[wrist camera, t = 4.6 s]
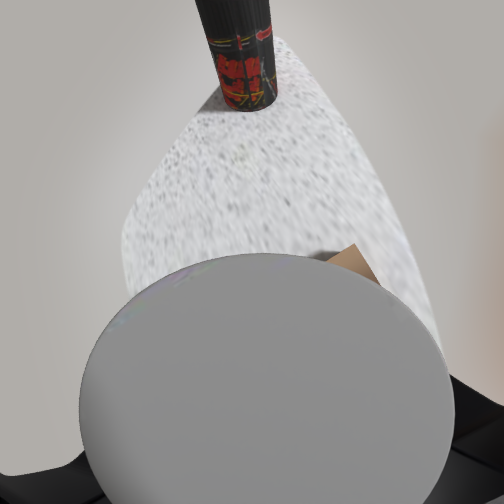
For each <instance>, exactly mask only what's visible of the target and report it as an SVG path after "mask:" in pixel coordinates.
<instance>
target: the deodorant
mask: <svg viewBox="0 0 504 504" xmlns="http://www.w3.org/2000/svg"><path fill="white" fill-rule="evenodd" d="M195 2H196V5H197V8H198V12H199V15H200V18H201V21H202V25H203V28H204V31H205V34H206V38H207V41H208V44H209V48H210V51H211V54H212V58H213V61H214V64H215V68H216V71H217V75H218V78H219V81H220V85H221V88H222V92H223V95H224V98H225V101H226V103H227V105H228V106H230V107H231V108H232V109H235V110H237V111H243V112H253V111H258V110H261V109H264V108H266V107H268V106H269V105H271V104H272V103H273V102H274V101H275V99H276V97H277V92H278V91H277V78H276V67H275V55H274V45H273V35H272V25H271V17H270V16H271V15H270V6H269V0H195Z"/></svg>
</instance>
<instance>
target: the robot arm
mask: <svg viewBox="0 0 504 504" xmlns="http://www.w3.org/2000/svg"><path fill="white" fill-rule="evenodd" d="M449 375H450V374H449ZM450 379H451V383H452V387H453V394H454V405H455V419H454V431H453V437H452V442H451V446H450V451H449V454H448V457H447V460H446V463H445V466H444V468H443V470H442V472H441V475H440V477H439V479H438V481H437V483H436V484H435V486H434V488H433V489H432V491H431V493H430V494H429V496H428V497H427V498H426V500H425V501H424V503H423V504H504V406H502V405H500V404H497V403H495V402H493V401H492V400H490V399H488V398H487V397H485V396H484V395H482V394H480V393H479V392H477V391H475V390H474V389H472V388H470V387H469V386H467V385H465V384H464V383H462V382H461V381H459V380H457V379H456V378H454V377H453V376H452V375H450ZM0 504H112V503H111V501H110V500H109V499H108V497H107V496H106V494H105V493H104V491H103V490H102V488H101V487H100V485H99V483H98V481H97V479H96V477H95V475H94V473H93V471H92V469H91V467H90V464H89V462H88V459H87V456H86V453H85V450H84V451H83V452H82V453H81V454H80V455H79V456H78V457H77V458H76V459H74V460H73V461H72V462H70V463H69V464H67V465H65V466H62V467H59V468H54V469H50V470H45V471H41V472H36V473H30V474H24V475H18V476H6V475H3V474H1V473H0Z"/></svg>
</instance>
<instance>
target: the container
mask: <svg viewBox="0 0 504 504" xmlns="http://www.w3.org/2000/svg"><path fill="white" fill-rule="evenodd" d="M454 419H455V405H454V394H453V387H452V383H451V379H450V375H449V372H448V368H447V366H446V363H445V360H444V358H443V356H442V353H441V351H440V349H439V347H438V345H437V344H436V342H435V340H434V339H433V337H432V336H431V334H430V333H429V331H428V330H427V329H426V327H425V326H424V325H423V323H422V322H421V321H420V320H419V318H418V317H417V316H416V315H415V314H414V313H413V312H412V311H411V310H410V309H409V308H408V307H407V306H406V305H405V304H404V303H403V302H401V301H400V300H399V299H398V298H397V297H396V296H394V295H393V294H392V293H390V292H389V291H387V290H386V289H385V288H383V287H381V286H380V285H378V284H377V283H375V282H373V281H371V280H370V279H368V278H366V277H364V276H362V275H360V274H358V273H356V272H353V271H351V270H349V269H346V268H344V267H341V266H338V265H335V264H332V263H329V262H325V261H321V260H317V259H313V258H308V257H303V256H296V255H288V254H272V253H255V254H240V255H233V256H225V257H221V258H216V259H211V260H207V261H204V262H200V263H197V264H194V265H191V266H188V267H186V268H183V269H180V270H178V271H176V272H174V273H172V274H169V275H167V276H165V277H164V278H162V279H160V280H158V281H157V282H155V283H153V284H152V285H150V286H148V287H147V288H146V289H144V290H143V291H141V292H140V293H138V294H137V295H136V296H135V297H134V298H133V299H131V300H130V301H129V302H128V303H127V304H126V305H125V306H124V307H123V308H122V309H121V310H120V311H119V312H118V313H117V314H116V315H115V316H114V318H113V319H112V320H111V321H110V322H109V324H108V325H107V327H106V328H105V329H104V331H103V332H102V334H101V335H100V337H99V338H98V340H97V342H96V344H95V346H94V348H93V350H92V352H91V354H90V356H89V359H88V362H87V365H86V368H85V371H84V374H83V378H82V383H81V388H80V397H79V422H80V431H81V436H82V441H83V445H84V449H85V453H86V456H87V459H88V462H89V464H90V467H91V469H92V471H93V473H94V475H95V477H96V479H97V481H98V483H99V485H100V487H101V488H102V490H103V491H104V493H105V494H106V496H107V497H108V499H109V500H110V501H111V503H112V504H423V503H424V501H425V500H426V498H427V497H428V496H429V494H430V493H431V491H432V489H433V488H434V486H435V484H436V483H437V481H438V479H439V477H440V475H441V472H442V470H443V468H444V466H445V463H446V460H447V457H448V454H449V451H450V446H451V442H452V437H453V431H454Z"/></svg>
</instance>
